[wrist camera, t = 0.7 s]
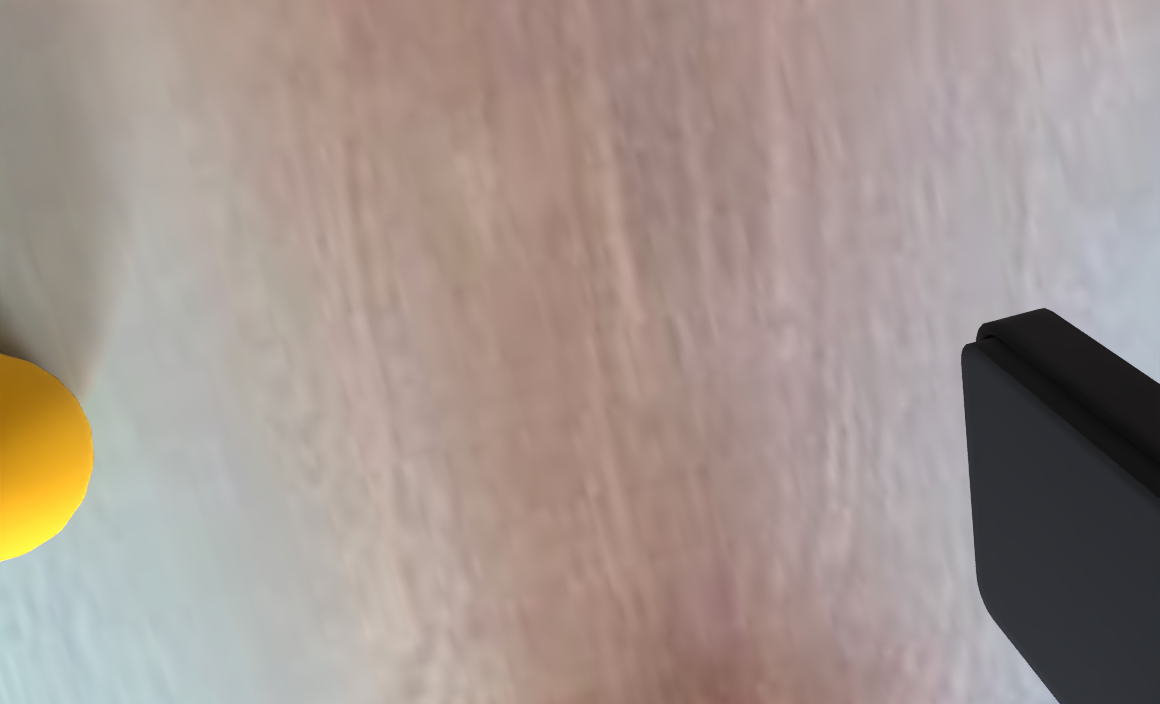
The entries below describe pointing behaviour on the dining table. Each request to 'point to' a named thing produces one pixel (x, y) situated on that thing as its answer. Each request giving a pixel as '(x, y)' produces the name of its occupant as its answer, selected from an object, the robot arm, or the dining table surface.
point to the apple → (39, 456)
